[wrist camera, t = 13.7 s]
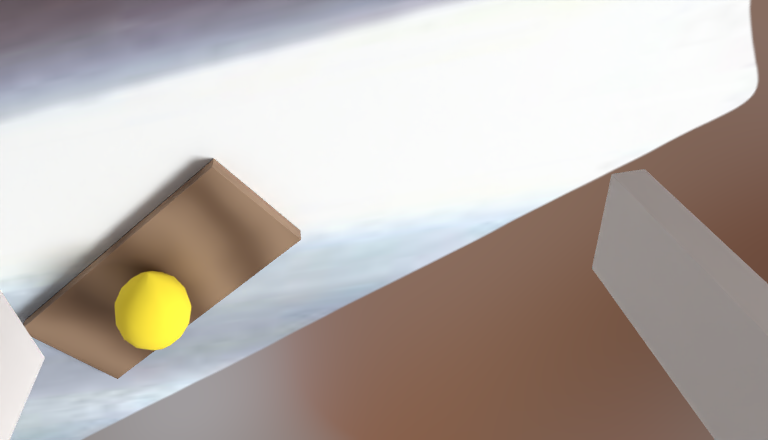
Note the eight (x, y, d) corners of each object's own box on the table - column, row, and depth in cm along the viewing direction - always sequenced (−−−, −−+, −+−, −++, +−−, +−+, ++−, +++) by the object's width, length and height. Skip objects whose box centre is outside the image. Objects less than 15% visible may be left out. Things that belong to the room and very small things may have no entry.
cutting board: (120, 368, 50) (117, 378, 49) (25, 320, 45) (20, 330, 44) (300, 230, 44) (300, 239, 43) (213, 158, 39) (212, 167, 38)
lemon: (117, 255, 42) (97, 296, 37) (191, 252, 43) (180, 292, 38) (131, 328, 45) (114, 374, 41) (200, 323, 46) (191, 368, 41)
